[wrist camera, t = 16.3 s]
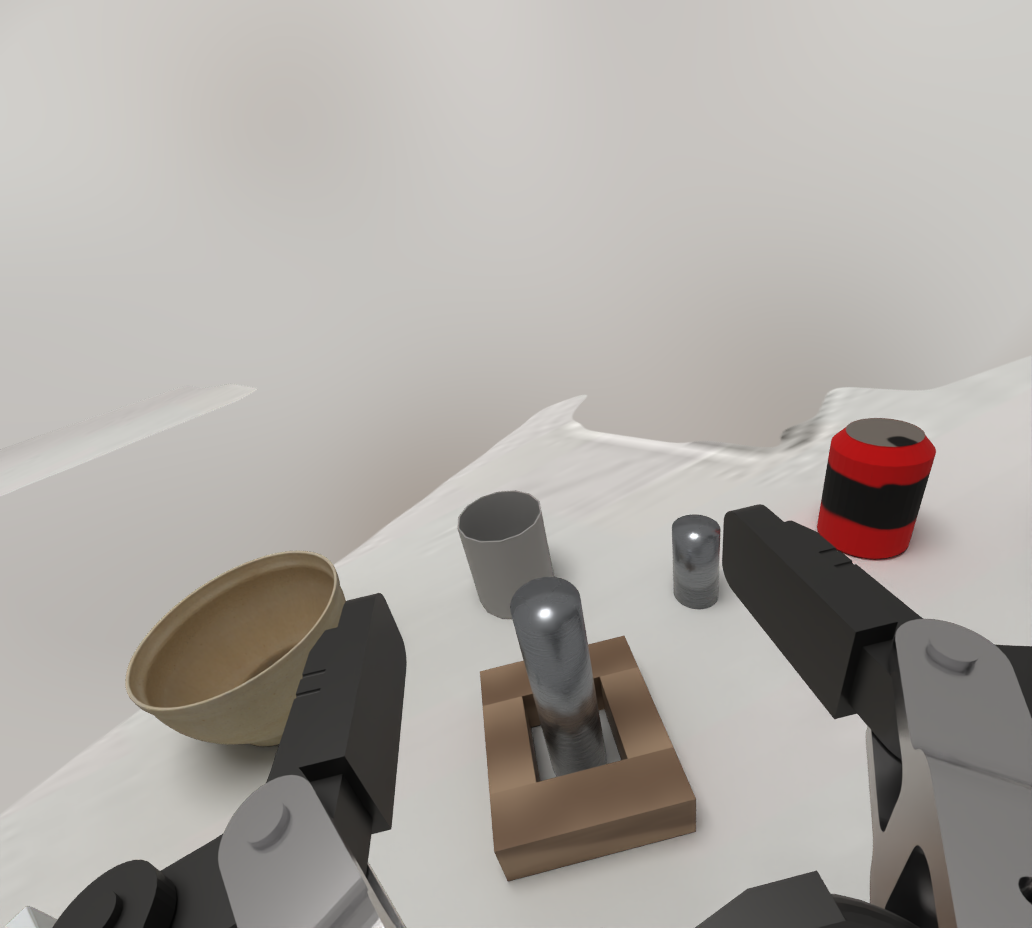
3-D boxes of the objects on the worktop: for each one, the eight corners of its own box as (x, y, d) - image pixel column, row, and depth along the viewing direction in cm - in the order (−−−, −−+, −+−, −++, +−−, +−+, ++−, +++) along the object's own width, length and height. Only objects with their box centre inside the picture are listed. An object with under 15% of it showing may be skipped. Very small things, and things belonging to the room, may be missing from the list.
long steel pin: (564, 722, 36) (529, 570, 28) (613, 743, 34) (591, 585, 26) (542, 773, 33) (497, 619, 25) (594, 799, 31) (563, 640, 23)
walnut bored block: (490, 701, 38) (479, 671, 37) (627, 667, 39) (624, 635, 37) (507, 881, 28) (494, 851, 26) (695, 831, 28) (695, 798, 26)
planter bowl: (324, 606, 53) (284, 532, 48) (412, 670, 43) (373, 585, 38) (174, 722, 43) (102, 644, 38) (242, 841, 33) (157, 757, 28)
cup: (471, 619, 47) (446, 543, 42) (488, 563, 54) (468, 493, 49) (552, 618, 45) (536, 540, 40) (559, 561, 52) (545, 488, 47)
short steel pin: (678, 574, 47) (677, 511, 43) (720, 583, 45) (723, 518, 41) (669, 602, 44) (667, 538, 40) (714, 613, 42) (716, 546, 38)
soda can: (850, 567, 44) (874, 459, 38) (800, 521, 50) (814, 423, 45) (929, 552, 44) (965, 441, 38) (869, 508, 50) (892, 408, 44)
